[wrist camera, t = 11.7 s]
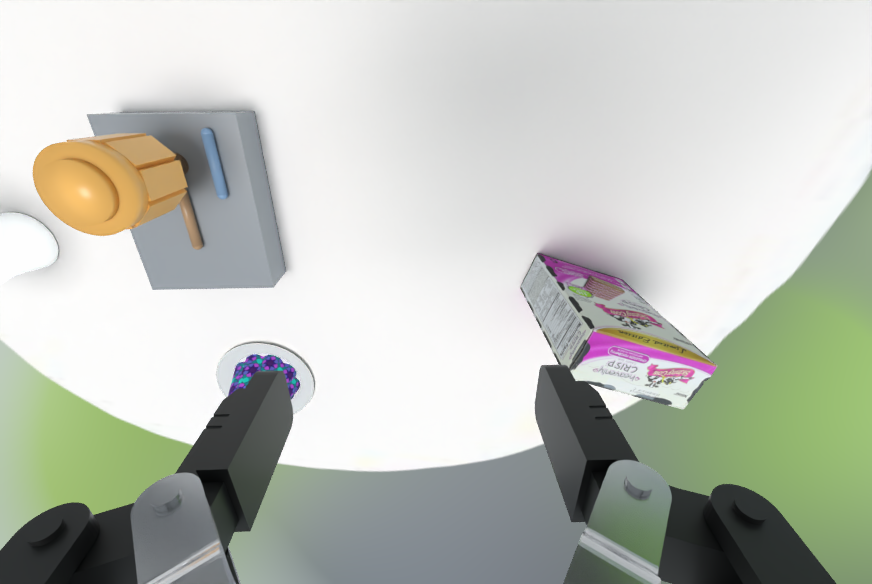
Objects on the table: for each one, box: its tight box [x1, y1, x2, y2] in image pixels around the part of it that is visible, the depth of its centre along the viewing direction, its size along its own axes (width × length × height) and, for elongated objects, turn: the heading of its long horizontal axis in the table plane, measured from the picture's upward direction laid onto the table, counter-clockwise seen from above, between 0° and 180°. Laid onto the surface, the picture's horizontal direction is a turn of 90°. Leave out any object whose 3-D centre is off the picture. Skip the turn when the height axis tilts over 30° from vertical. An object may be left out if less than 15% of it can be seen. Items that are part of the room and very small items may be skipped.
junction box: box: [87, 111, 286, 290], centre depth 37 cm, size 16×12×5 cm
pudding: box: [216, 343, 314, 414], centre depth 48 cm, size 12×12×5 cm
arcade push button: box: [33, 133, 188, 236], centre depth 27 cm, size 6×6×7 cm
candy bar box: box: [521, 253, 717, 409], centre depth 37 cm, size 11×5×16 cm, turn 72°
